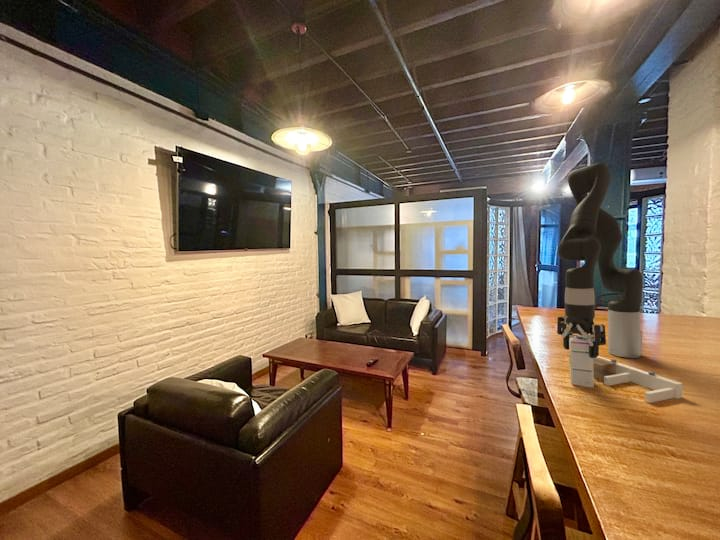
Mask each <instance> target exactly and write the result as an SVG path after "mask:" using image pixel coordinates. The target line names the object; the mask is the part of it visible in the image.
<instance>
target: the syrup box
mask: <svg viewBox="0 0 720 540" xmlns="http://www.w3.org/2000/svg"><path fill="white" fill-rule="evenodd" d="M589 345H590V344H589V343H588V341H587V340H586V339H585V338H584V337H583V336H581V335H579V334H573V335H569V350H568V351H569V352H568V353H569V374H570V376H569V378H570V383H571V385H575V386H578V387H580V386H581V387H586V388H593V389H594V388H595V378H594V369H593V358H590V357H589Z"/></svg>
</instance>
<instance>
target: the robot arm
mask: <svg viewBox="0 0 720 540" xmlns="http://www.w3.org/2000/svg"><path fill="white" fill-rule="evenodd" d="M610 182H611V174H610V169H609V167H608V166H607V164H606V163H605V162H597V163H593V164H590V165H586V166H584V167H581V168H580V167H579V168H577V169H574V170H572V171H570V172H569V173H568V176H567V183H568V186H569V189H570V191H571V195H572V196H573V198H574V201H575V203H576V207H575V208H574V210H573V211H572V213H571V216H570V219H569V220H570V221H569V225H568V229H567V230H566V232H565V234H564V236H563V237H562V239H561V240H560V242H559V244H558V247H557V255H558V256H559V258H560V259H561V260H563V261H567V262H569V261H570V262H571V261H574V262H576V261H578V262H579V261H582V262H583V261H584V264H583V265H582V266H579V267H574V268H569V269H567V270H566V271H565V274H564V276H565V277H564V278H565V279H564V280H565V284H564V285H565V289H564V316H558V317H557V326H556V327H557V328H556V332H557V334H558V335H560V336H561V337H562V343H563V348H564V350H567V351H569V335H581V336H583V337H584V338H585V339H586V340H587V341H588V343H589V344H590V345H589V357H590V358H597V356H600V354H599V352H600V351H599V347H600V346H605V345H607V339H606V338H607V337H606V336H608V353H609V354H610V355H613V356H616V357H621V358H627V359H628V358H629V359H639V358H641V356H643V331H642V329H641V305H642V300H643V299H642V293H643V275H642V272H641V270H639V269H637V268H617V267H616V266H615V264H614V257H615V254H616V252H617V250H618V248H619V247H620V245H621V242H622V238H623V236H622V231H621V228H620V225H619V222H618V220H617V218H615V217H614V216H613V215H612V214H610V213H609V212H608V211H606V210H604V209H602V208H601V206H602V204H603V201H604V199H605V196H606V194H607V191H608V189H609V187H610ZM596 265H597V267H598V272H599V275H600V277H599V278H600V281H601V284H602V286H603V288H604V289H605V290H606V291H608V292H611V293H622V294H623V298H620V299H618V300H612V301H609V302H608V303H607V322H608V323H607V328H608V331H607V332H608V333H607V334H608V335H606V326H605V325H604V324H603V323H602V324H601V323H600V324H596V323H595V322H594V319H595V317H596V302H595V301H596V299H595V298H596V297H595V294H596V293H595V290H594V285H595V284H594V277H595V276H594V274H595V268H596Z"/></svg>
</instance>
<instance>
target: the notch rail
mask: <svg viewBox="0 0 720 540" xmlns="http://www.w3.org/2000/svg"><path fill="white" fill-rule="evenodd" d="M598 357H599V358H602V359H605V360H608V361H611V362H614V363H616V374H615V375H609V376H604V381H603V385H605V386H613V385H614V386H615V385H618V384H623V383H625V384H626V383H634V384H635V385H639V386H642V387H644V388H647V389H650V391H644V402H646V403H648V404H649V403H650V404H651V403H655V402H660V401H666V400H669V399H682V398H683V383H682V382H679V381H676V380H674V379H670V378H667V377H664V376H661V375H657V374H656V372H655V371H651V370H648V371H646V370H644V369H639V368H636V367H634V366H630V365H628V364H624V363H621V362H618V361H617V359H615V358H611V359H608V358H606V357H603V356H600V355H598V356H597V358H598Z"/></svg>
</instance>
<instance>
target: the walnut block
mask: <svg viewBox="0 0 720 540" xmlns="http://www.w3.org/2000/svg"><path fill="white" fill-rule="evenodd" d="M593 369H594V379H595V380H599V381H601V382H604V376H609V375H615V374H616V363H614V362H611V361H608V360H605V359H602V358H599V357H598V358H593Z"/></svg>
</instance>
